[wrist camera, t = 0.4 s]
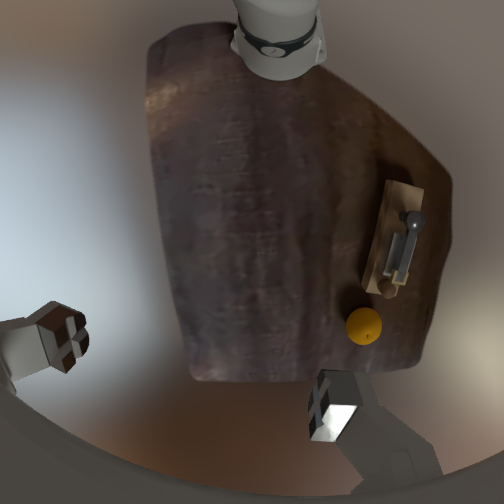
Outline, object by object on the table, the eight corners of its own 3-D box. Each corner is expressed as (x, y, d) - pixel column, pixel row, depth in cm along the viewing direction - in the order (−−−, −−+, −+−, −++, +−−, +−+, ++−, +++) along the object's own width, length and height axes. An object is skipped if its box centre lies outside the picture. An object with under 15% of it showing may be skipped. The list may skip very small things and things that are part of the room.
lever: (406, 207, 40) (410, 209, 39) (422, 212, 40) (426, 213, 39) (387, 280, 44) (390, 283, 43) (403, 282, 44) (406, 285, 43)
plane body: (385, 179, 47) (402, 181, 39) (414, 188, 46) (433, 191, 39) (360, 284, 53) (371, 300, 46) (388, 288, 53) (402, 304, 46)
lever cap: (388, 228, 46) (394, 232, 43) (410, 234, 45) (416, 237, 42) (377, 269, 48) (382, 274, 45) (399, 273, 48) (405, 278, 45)
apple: (381, 320, 55) (392, 338, 48) (352, 338, 57) (360, 358, 50) (367, 295, 54) (378, 312, 47) (336, 315, 56) (343, 334, 49)
